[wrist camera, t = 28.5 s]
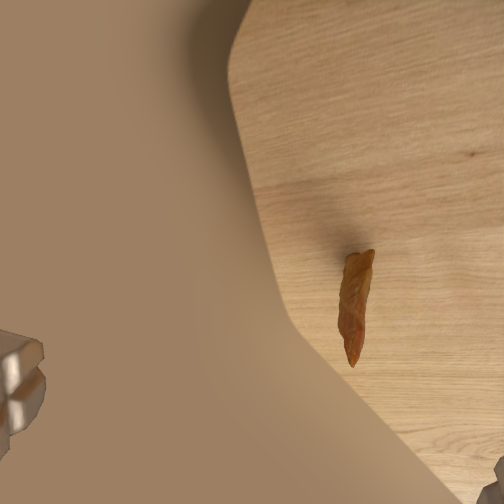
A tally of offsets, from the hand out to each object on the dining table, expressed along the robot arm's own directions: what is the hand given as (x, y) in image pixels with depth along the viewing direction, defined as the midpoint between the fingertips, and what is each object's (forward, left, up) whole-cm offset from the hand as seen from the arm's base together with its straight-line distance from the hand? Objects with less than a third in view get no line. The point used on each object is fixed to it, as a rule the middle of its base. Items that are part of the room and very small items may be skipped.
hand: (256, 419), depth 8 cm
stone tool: (+5, -10, -31) cm, 33 cm away
